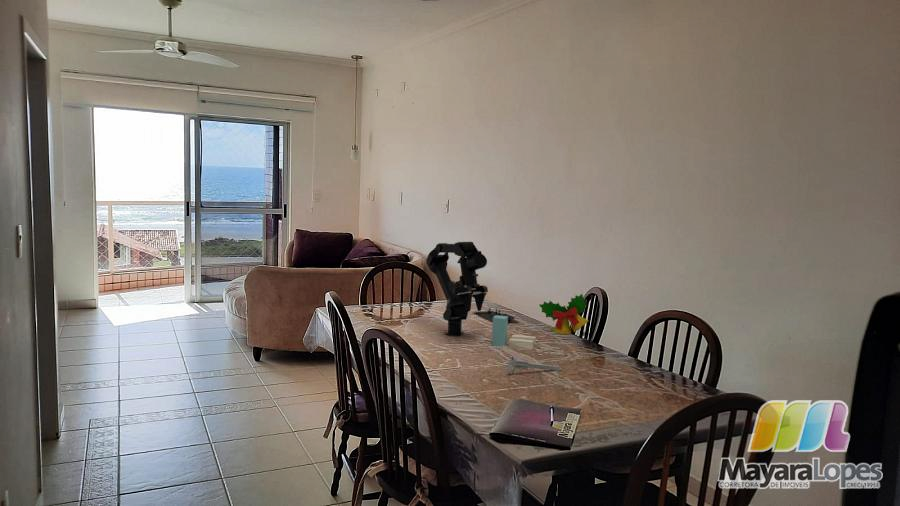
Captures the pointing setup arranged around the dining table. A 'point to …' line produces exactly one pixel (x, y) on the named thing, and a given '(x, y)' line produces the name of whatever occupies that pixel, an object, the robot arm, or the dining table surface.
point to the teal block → (499, 330)
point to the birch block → (522, 342)
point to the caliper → (528, 366)
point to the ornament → (566, 314)
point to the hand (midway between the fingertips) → (474, 311)
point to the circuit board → (490, 314)
